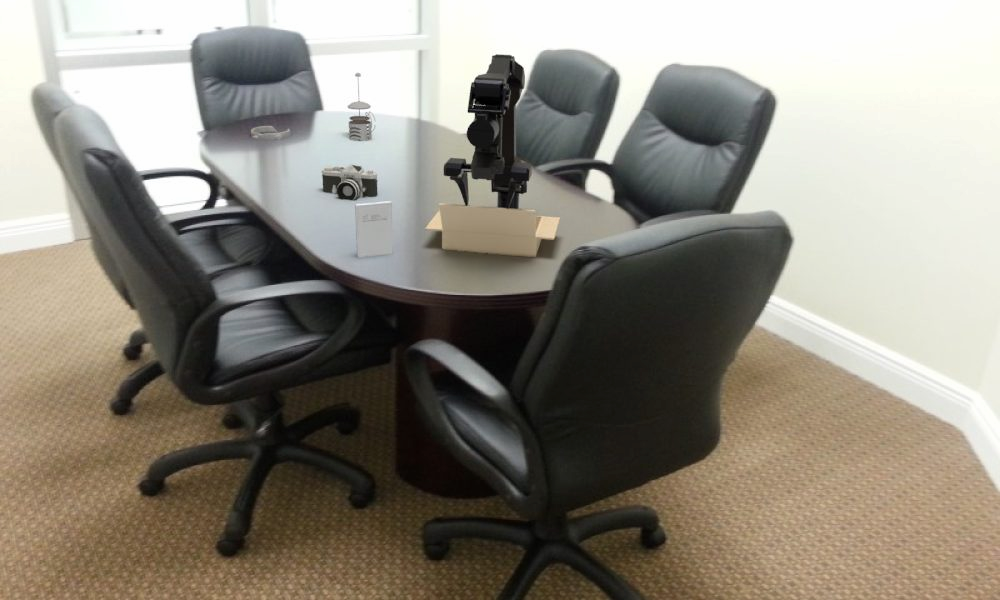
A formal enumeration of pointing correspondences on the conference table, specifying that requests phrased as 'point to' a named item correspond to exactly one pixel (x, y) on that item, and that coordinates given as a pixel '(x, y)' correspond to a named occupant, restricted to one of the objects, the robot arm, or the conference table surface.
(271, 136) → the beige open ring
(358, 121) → the french press
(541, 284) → the conference table surface
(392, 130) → the conference table surface
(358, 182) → the camera
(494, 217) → the kraft flap
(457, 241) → the carton
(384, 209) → the hard drive
